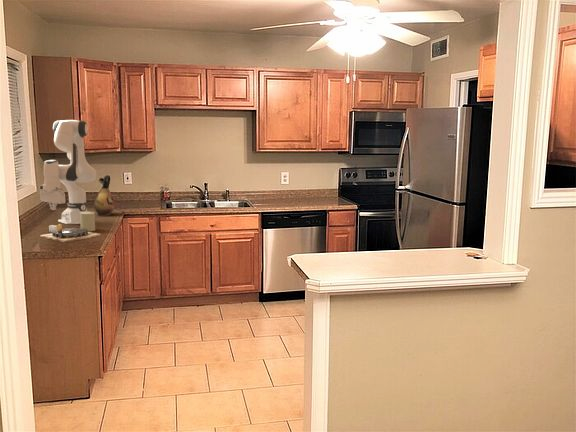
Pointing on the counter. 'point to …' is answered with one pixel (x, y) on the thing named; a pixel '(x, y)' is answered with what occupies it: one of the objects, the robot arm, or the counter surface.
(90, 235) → the plate
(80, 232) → the sprocket
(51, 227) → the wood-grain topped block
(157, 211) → the counter surface
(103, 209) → the ceramic jug
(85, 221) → the can
